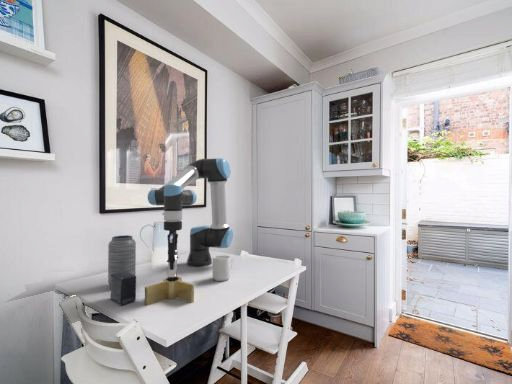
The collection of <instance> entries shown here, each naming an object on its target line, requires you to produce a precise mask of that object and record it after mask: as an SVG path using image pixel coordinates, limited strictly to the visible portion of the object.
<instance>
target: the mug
mask: <svg viewBox="0 0 512 384" xmlns="http://www.w3.org/2000/svg"><path fill="white" fill-rule="evenodd" d="M233 259H234V258H233V257H230V255H222V254H221V255H219V254H218V255H214V256H213V257H212V279H213V280H214V281H215V282H225V281H228V280H229V279H230V278H231V271H232V269H233V264H234V263H233Z"/></svg>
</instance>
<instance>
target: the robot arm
mask: <svg viewBox="0 0 512 384" xmlns="http://www.w3.org/2000/svg"><path fill="white" fill-rule="evenodd" d="M230 177H231V167H230V164H229V161H228V160H227V159H225V158H219V157H218V158H201V159H197V160H195V161H193V162H191V163H189V164H187V165H186V166H185V167H184V168H183V170H182V171H181V172H180V173H179V174H177V175H176V176H174V177H173V178H172V179H171V180H169V181H168V182H167V183H166V184H164V185H162V186H161V187H160V188H159V189H151V190H149V191H148V193H147V201H148V204H150V206H151V205H152V206H157V207H158V206H163V212H162V214H161V215H162V216H163V221H164V222H163V230H164V231H168V232H169V233H168V234H167V260H166V263H168V262H169V277H175V266H176V261H175V249H176V250H178V237H179V233H177V231H181V230H182V229H183V221H182V220H183V207H190V206H193V205H194V204H196V202H197V199H198V198H197V197H198V196H197V194H196V192H195V191H194V190H192V189H185V188H186V187H187V186H189V184H191V183H192V182H195V181H197V180H199V179H207V183H209V185H210V187H209V188H210V203H211V222H212V223H211V225H210V226H209V225H198V226H194V227H191V228H190V231H189V254H188V257H187V259H186V265H187V266H190V267H205V266H209V265H212V264H213V258H212V256H211V252H210V248H217V249H227V248H229V247H230V246H231V245H232V242H233V237H234V231H233V229H232V228H230V225H229V224H228V222H227V204H226V183H227V182H228V179H229V178H230ZM177 259H179V256H178V255H177Z"/></svg>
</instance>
